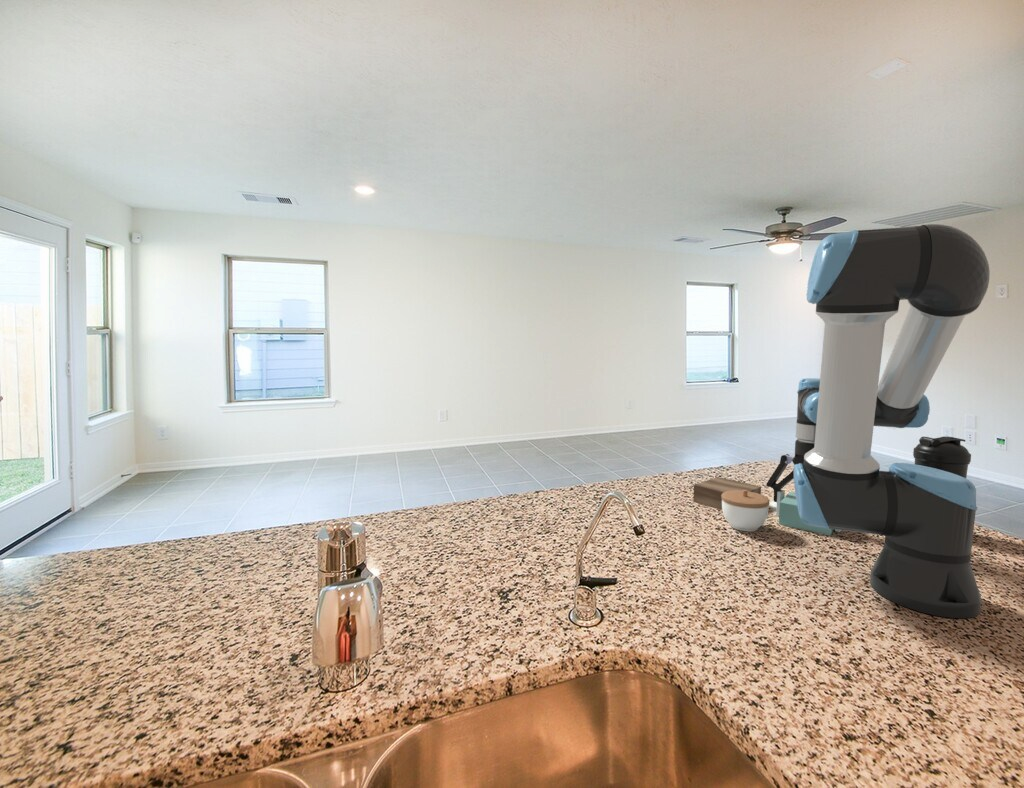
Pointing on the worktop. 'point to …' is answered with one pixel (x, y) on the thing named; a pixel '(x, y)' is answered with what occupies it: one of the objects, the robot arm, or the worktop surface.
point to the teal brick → (796, 516)
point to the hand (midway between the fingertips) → (808, 522)
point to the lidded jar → (744, 509)
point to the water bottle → (943, 454)
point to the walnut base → (719, 490)
